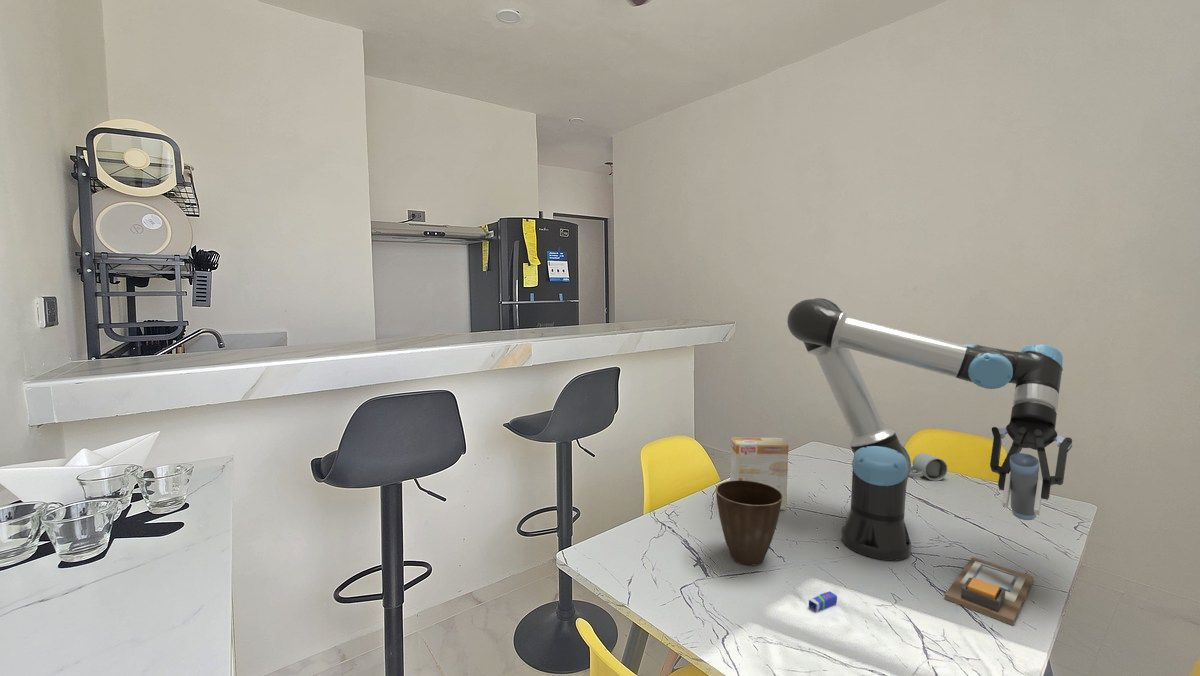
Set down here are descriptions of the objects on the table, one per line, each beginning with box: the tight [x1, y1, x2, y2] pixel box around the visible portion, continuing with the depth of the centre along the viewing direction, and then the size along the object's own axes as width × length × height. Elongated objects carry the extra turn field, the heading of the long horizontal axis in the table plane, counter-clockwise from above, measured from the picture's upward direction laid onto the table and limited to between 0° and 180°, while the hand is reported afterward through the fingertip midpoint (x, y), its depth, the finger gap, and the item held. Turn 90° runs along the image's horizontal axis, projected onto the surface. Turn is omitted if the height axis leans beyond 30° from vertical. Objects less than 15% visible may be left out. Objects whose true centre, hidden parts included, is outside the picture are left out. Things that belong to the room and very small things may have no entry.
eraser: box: [808, 591, 838, 613], centre depth 101 cm, size 2×6×2 cm, turn 116°
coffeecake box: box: [729, 436, 789, 511], centre depth 147 cm, size 15×7×20 cm, turn 88°
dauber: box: [1009, 452, 1040, 521], centre depth 105 cm, size 5×5×14 cm
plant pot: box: [715, 480, 782, 566], centre depth 118 cm, size 15×15×16 cm
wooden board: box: [944, 556, 1035, 626], centre depth 106 cm, size 22×11×3 cm, turn 132°
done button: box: [967, 578, 1000, 600], centre depth 101 cm, size 4×4×2 cm
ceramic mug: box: [908, 453, 948, 482], centre depth 170 cm, size 11×8×8 cm
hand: (1020, 508), depth 103 cm, fingers closed on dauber, 4 cm apart
